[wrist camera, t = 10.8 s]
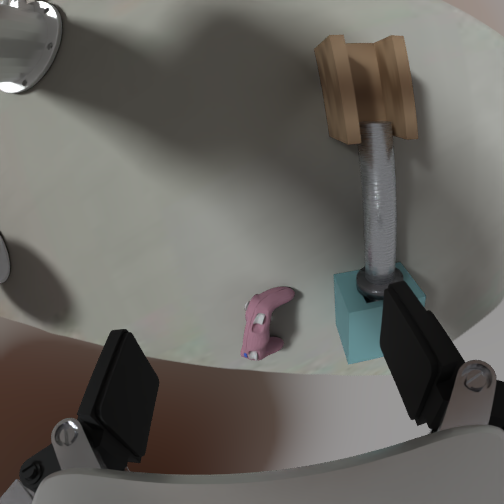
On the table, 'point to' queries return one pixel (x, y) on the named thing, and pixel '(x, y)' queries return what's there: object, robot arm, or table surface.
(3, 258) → the chalice
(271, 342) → the video game controller
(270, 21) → the table surface
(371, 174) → the rod
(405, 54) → the wooden cradle block
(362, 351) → the socket block
